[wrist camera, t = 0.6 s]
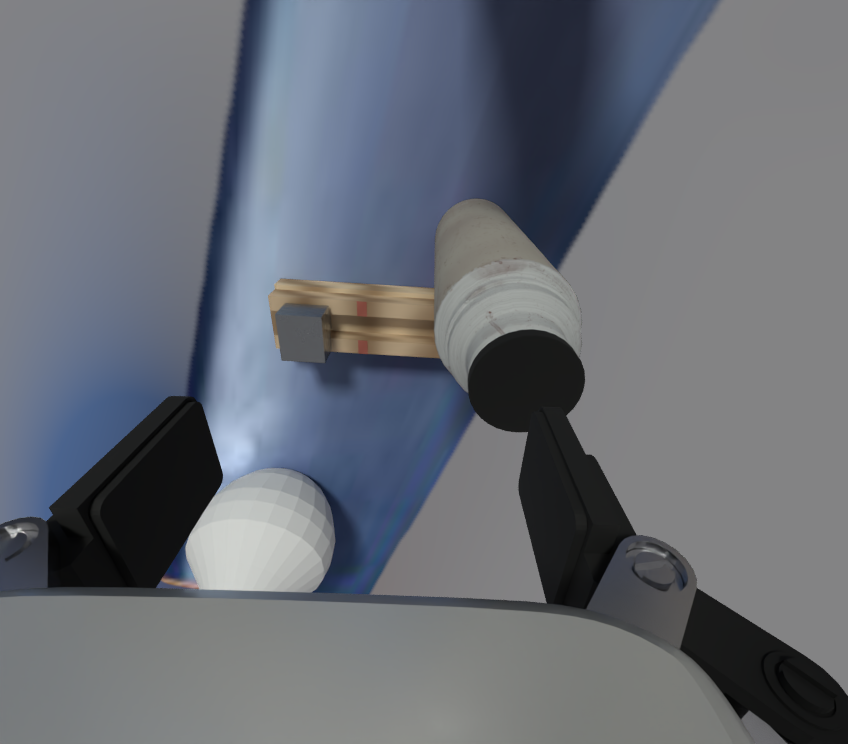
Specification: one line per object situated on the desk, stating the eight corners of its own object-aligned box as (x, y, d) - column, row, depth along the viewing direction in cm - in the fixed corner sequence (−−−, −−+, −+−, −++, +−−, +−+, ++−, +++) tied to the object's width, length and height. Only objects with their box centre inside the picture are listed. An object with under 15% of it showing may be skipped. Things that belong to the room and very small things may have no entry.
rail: (288, 337, 47) (276, 354, 43) (280, 278, 43) (267, 291, 40) (448, 347, 47) (449, 364, 44) (454, 289, 43) (455, 302, 40)
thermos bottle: (521, 263, 42) (636, 437, 18) (449, 288, 43) (465, 478, 19) (501, 185, 38) (614, 271, 14) (423, 215, 40) (404, 340, 16)
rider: (296, 338, 44) (281, 360, 40) (291, 295, 42) (274, 314, 37) (336, 340, 44) (325, 363, 40) (333, 298, 42) (321, 317, 37)
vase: (204, 452, 57) (15, 712, 31) (327, 439, 55) (232, 704, 29) (252, 534, 66) (136, 787, 40) (359, 525, 64) (307, 784, 38)
